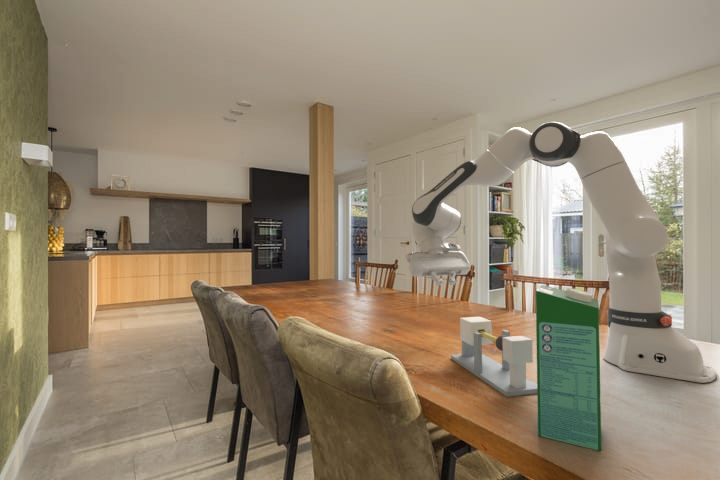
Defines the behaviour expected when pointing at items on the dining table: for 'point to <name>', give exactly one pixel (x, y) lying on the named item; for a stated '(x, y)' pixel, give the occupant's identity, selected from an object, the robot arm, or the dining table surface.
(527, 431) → the dining table surface
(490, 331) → the sleeve
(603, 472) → the dining table surface
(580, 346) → the milk carton
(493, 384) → the bearing mount fixture
